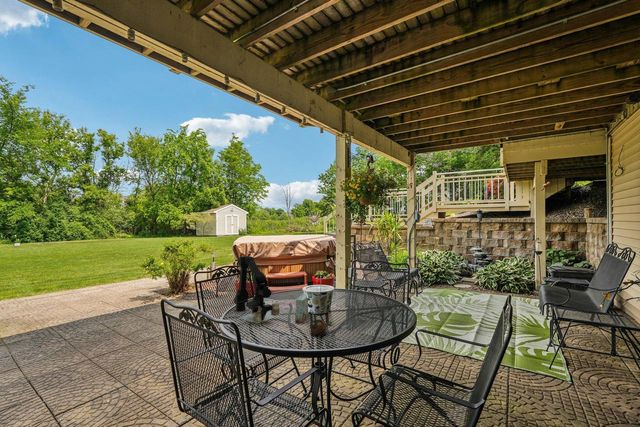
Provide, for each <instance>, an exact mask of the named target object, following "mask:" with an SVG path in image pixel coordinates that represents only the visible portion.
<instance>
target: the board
mask: <svg viewBox="0 0 640 427" xmlns="http://www.w3.org/2000/svg"><path fill="white" fill-rule="evenodd" d="M280 315H282V313H279V315H276V316H274V315H271V310H270V311H268V312H267V313H266V315H265V320H264V321H262V322H259V323H258V322H255V321H253V314H252V312H251V313H249V314H245V315H242V316H239V317H238V318H239V319H241V320H245V321H247V322H252V323H254V324H260V323H263V322H265V321H268V320H271V319H273V318H275V317H278V316H280Z"/></svg>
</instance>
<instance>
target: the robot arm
mask: <svg viewBox="0 0 640 427" xmlns="http://www.w3.org/2000/svg"><path fill="white" fill-rule="evenodd" d="M237 265H238V267H239V270H240V271H239V282H238V283H239V286H238V289H237V291H236V294H235V296H234V298H233V304H235V310H236V312H245V311H246V308H248V309H249V310H251V312H252V311H253V313H255V312H258V307H260V308H262V310H260V312H261V319H262V321H263V320H264V318H265V315H266V313H267V312H268V311H271V310H273V306H272V304H270V303H269V304H266V302H265V299H269V298H270V297H271V296H272V290H271V289H270V288H269V282H268V280H267V279H268V278H267V277H266V275H265V274H264V273H263V272H262V271H261V270H260V269H259V266H258V265H257V263H256V261H255V257H254V256H249V255H242V256H239V257H238V258H237ZM248 269H249V270H250V272H251V275H252V281H253V284H254V285H253V287H254V296H252V300H250V301H249V297H250V296H249V291H248V290H247V282H248V281H247V278H248ZM264 304H265V305H264ZM263 322H264V321H263Z"/></svg>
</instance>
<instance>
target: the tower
mask: <svg viewBox="0 0 640 427" xmlns="http://www.w3.org/2000/svg"><path fill="white" fill-rule="evenodd" d="M271 305H272V306H273V310H270V311H271V315H274V316H276V315H279V314H280V302H272V303H271ZM279 316H280V315H279ZM276 317H277V316H276Z"/></svg>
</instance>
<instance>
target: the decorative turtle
mask: <svg viewBox="0 0 640 427" xmlns="http://www.w3.org/2000/svg"><path fill="white" fill-rule="evenodd" d="M327 327H328V326H327V323H326V322H325V321H323V319H318V318H317V319H314V320H312V321H311V322H310V324H309V329H310V331H311V332H312V333H311V334H312V335H313V336H314V337H315V336H317V335H318V334H320V335H321V336H324V335H325V333H326V330H327Z"/></svg>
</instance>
